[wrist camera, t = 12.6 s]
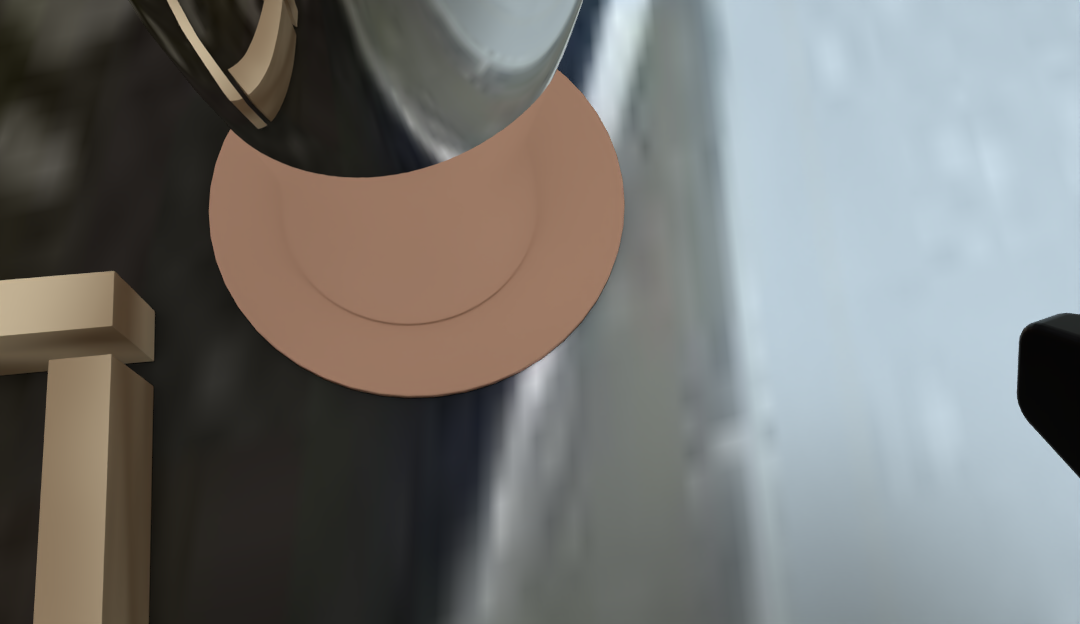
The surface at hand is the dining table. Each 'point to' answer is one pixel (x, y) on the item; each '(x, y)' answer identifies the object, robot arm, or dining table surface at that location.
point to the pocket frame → (88, 441)
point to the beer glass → (383, 133)
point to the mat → (454, 343)
